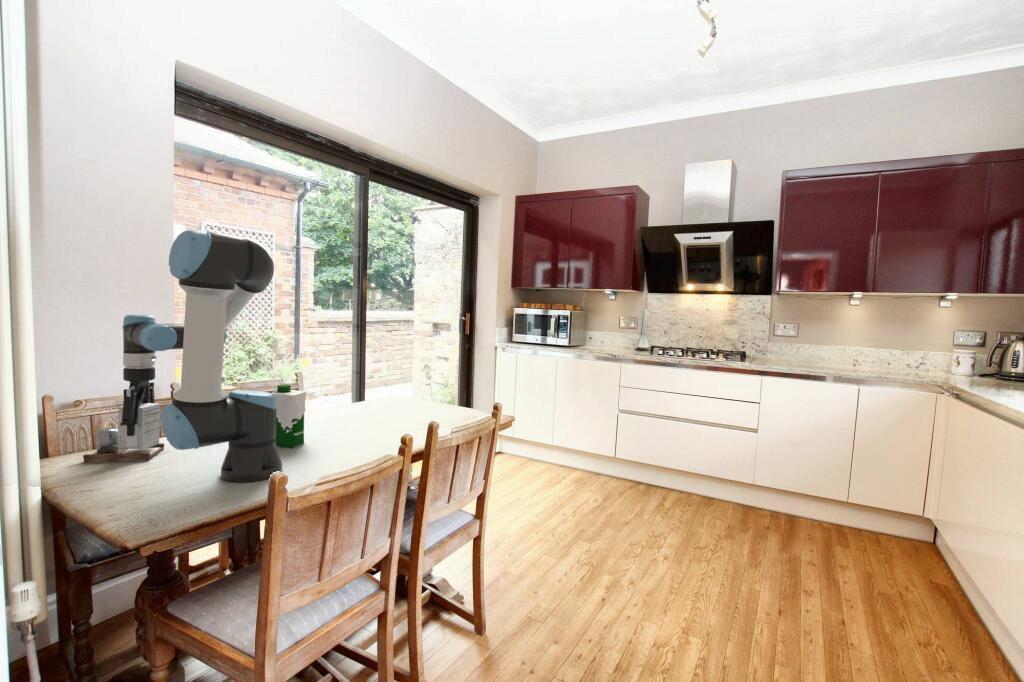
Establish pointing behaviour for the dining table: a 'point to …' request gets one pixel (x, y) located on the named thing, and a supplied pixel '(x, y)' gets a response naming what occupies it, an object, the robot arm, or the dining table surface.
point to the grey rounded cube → (107, 441)
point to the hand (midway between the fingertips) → (139, 441)
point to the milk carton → (289, 416)
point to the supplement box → (142, 426)
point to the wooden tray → (125, 454)
